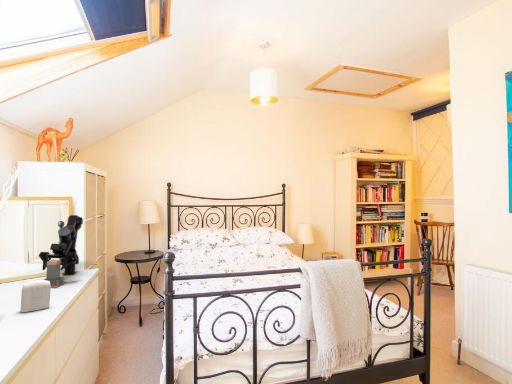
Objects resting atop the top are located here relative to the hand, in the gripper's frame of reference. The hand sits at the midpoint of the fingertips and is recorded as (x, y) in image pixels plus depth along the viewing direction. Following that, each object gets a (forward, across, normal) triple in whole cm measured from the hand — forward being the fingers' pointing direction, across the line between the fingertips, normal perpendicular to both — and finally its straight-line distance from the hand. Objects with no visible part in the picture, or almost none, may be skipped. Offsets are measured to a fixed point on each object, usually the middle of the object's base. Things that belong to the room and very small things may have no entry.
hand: (52, 269), depth 165 cm
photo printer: (+31, +13, -18) cm, 38 cm away
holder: (+5, 0, +7) cm, 9 cm away
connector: (+5, 0, +7) cm, 8 cm away
